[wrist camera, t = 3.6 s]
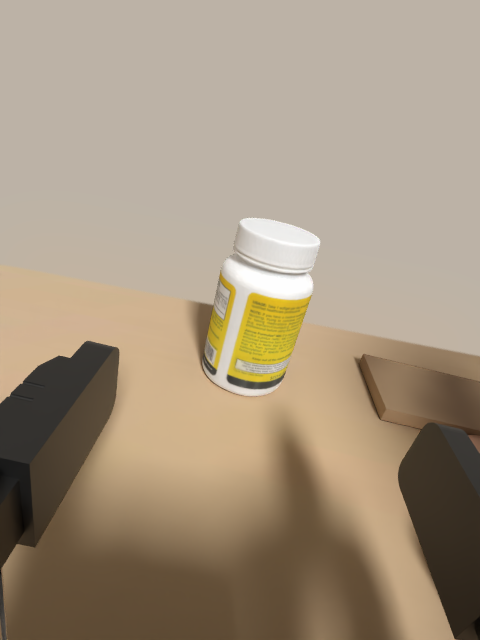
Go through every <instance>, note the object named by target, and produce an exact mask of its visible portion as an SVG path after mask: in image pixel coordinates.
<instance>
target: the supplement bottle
mask: <svg viewBox="0 0 480 640" xmlns="http://www.w3.org/2000/svg"><path fill="white" fill-rule="evenodd" d="M319 246H320V240H319V238H318V237H316V236H315V235H313V234H312V233H310V232H308V231H306V230H304V229H301V228H299V227H296V226H293V225H290V224H286V223H282V222H278V221H274V220H269V219H261V218H245V219H242V220H241V221H240V223H239V226H238V230H237V234H236V238H235V241H234V251H235V254H233V255H231V256H229V257H228V258H227V259H226V260H225V261H224V263H223V265H222V268H221V271H220V277H219V281H218V286H217V292H216V296H215V301H214V305H213V310H212V315H211V320H210V325H209V329H208V334H207V339H206V344H205V349H204V354H203V359H202V365H203V369H204V371H205V373H206V375H207V376H208V377H209V378H210V380H211V381H213V382H214V383H215V384H216V385H218V386H220V387H221V388H223V389H225V390H228V391H230V392H232V393H235V394H239V395H243V396H262V395H266V394H269V393H271V392H273V391H274V390H275V389H277V388H278V387H279V385H280V384H281V382H282V380H283V377H284V375H285V372H286V368H287V366H288V363H289V360H290V357H291V354H292V351H293V348H294V346H295V343H296V340H297V337H298V334H299V331H300V328H301V325H302V322H303V319H304V316H305V313H306V310H307V307H308V304H309V301H310V299H311V296H312V292H313V281H312V279H311V277H310V275H309V274H308V273H307V272H309V271H311V270H312V269H313V265H314V263H315V259H316V256H317V253H318V249H319Z"/></svg>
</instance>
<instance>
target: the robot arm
mask: <svg viewBox="0 0 480 640" xmlns="http://www.w3.org/2000/svg"><path fill="white" fill-rule="evenodd" d="M118 365H119V349H118V348H117V347H112V346H108V345H104V344H100V343H95V342H91V341H86V342H85V343H84V344H83V345H82V346H81V347H80V348H79V349H78V350H77V351H76V353H75V354H74V355H73V356H72V357H71V358H67V357H63V356H58V357H55V358H53V359H51V360H49V361H47V362H45V363H43V364H41V365H39V366H38V367H37V368H36V369H35V370H34V371H33V372H32V373H31V374H30V375H29V376H28V377H27V378H26V379H25V380H24V381H23V384H20V385H19V386H18V387H17V388H16V389H15V390H14V391H13V392H12V393H11V395H10V397H7V398H6V399H5V400H4V401H3V402H2V403H1V404H0V640H8V634H7V622H6V609H5V597H4V584H3V572H2V567H3V565H4V564H5V562H6V560H7V559H8V557H9V555H10V554H11V552H12V551H13V549H14V547H15V546H16V544H21V545H26V546H30V547H36V545H37V543H38V542H39V540H40V538H41V536H42V535H43V533H44V531H45V529H46V528H47V526H48V524H49V522H50V521H51V519H52V517H53V515H54V514H55V512H56V510H57V508H58V507H59V505H60V503H61V501H62V500H63V498H64V496H65V494H66V493H67V491H68V489H69V487H70V486H71V484H72V482H73V480H74V479H75V477H76V475H77V473H78V472H79V470H80V468H81V466H82V465H83V463H84V461H85V459H86V458H87V456H88V454H89V452H90V451H91V449H92V447H93V445H94V444H95V442H96V440H97V438H98V437H99V435H100V433H101V431H102V430H103V428H104V426H105V424H106V423H107V421H108V419H109V417H110V415H111V412H112V409H113V406H114V402H115V398H116V388H117V376H118ZM398 481H399V486H400V490H401V492H402V495H403V498H404V501H405V503H406V506H407V509H408V512H409V514H410V517H411V520H412V523H413V525H414V528H415V531H416V534H417V536H418V539H419V542H420V545H421V547H422V550H423V553H424V556H425V558H426V561H427V564H428V567H429V569H430V572H431V575H432V578H433V580H434V583H435V586H436V589H437V591H438V594H439V597H440V600H441V602H442V605H443V608H444V611H445V613H446V616H447V619H448V622H449V624H450V627H451V630H452V633H453V635H454V638H455V639H458V640H480V453H479V452H478V450H477V449H476V447H475V446H474V444H473V443H472V441H471V439H470V438H469V436H468V435H467V434H466V432H465V431H463V430H462V429H459V428H454V427H450V426H446V425H442V424H437V423H433V422H430V423H427V424H426V425H425V426H424V427H423V428H422V430H421V431H420V433H419V435H418V436H417V438H416V439H415V441H414V443H413V444H412V446H411V447H410V449H409V450H408V452H407V454H406V455H405V457H404V458H403V460H402V462H401V464H400V467H399V472H398Z"/></svg>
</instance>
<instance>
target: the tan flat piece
mask: <svg viewBox="0 0 480 640" xmlns="http://www.w3.org/2000/svg"><path fill="white" fill-rule="evenodd" d="M359 365H360V367H361V370H362V373H363V375H364V378H365V380H366V383H367V386H368V388H369V391H370V394H371V396H372V399H373V401H374V404H375V407H376V409H377V412H378V415H379V417H380V420H384V421H389V422H393V423H397V424H401V425H406V426H410V427H414V428H419V429H422V428H423V427H424V426H425V425H426V424H427V423H430V422H433V423H437V424H442V425H446V426H450V427H454V428H459V429H462V430H463V431H465V432H466V434H467V435H468V436H469V438H470V439H471V441H472V443H473V444H474V446H475V447H476V449H477V450H478V452H479V453H480V382H478V381H474V380H470V379H466V378H462V377H458V376H453V375H449V374H445V373H441V372H437V371H433V370H428V369H424V368H420V367H416V366H412V365H407V364H403V363H399V362H395V361H391V360H387V359H382V358H378V357H374V356H370V355H366V354H363V356H362V358H361V360H360V362H359Z"/></svg>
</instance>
